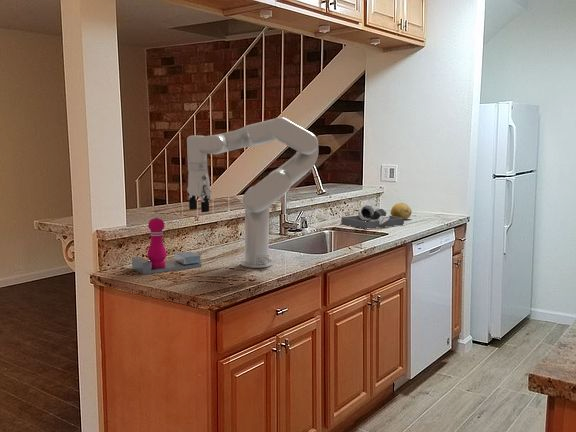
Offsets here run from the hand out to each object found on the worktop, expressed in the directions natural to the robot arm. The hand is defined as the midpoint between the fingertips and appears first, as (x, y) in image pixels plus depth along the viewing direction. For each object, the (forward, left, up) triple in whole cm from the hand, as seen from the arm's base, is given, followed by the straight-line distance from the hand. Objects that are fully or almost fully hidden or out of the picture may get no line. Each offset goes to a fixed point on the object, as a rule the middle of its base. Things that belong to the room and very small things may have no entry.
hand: (199, 210), depth 234 cm
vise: (0, +14, -21) cm, 25 cm away
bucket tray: (+35, -128, -21) cm, 135 cm away
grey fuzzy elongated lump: (+35, -128, -21) cm, 135 cm away
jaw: (0, +5, -20) cm, 21 cm away
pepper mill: (0, +18, -20) cm, 27 cm away
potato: (+41, -157, -22) cm, 164 cm away
